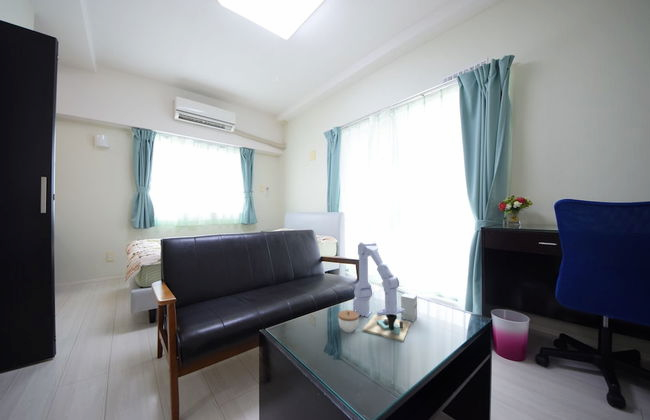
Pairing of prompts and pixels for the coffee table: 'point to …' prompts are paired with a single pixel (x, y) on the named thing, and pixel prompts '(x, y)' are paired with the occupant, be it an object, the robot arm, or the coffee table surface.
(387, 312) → the robot arm
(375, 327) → the board
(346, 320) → the lidded jar
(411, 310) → the supplement box
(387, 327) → the angular block
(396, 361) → the coffee table surface
